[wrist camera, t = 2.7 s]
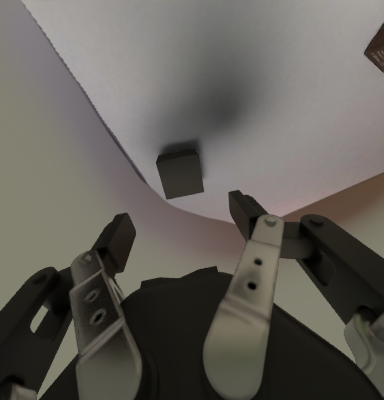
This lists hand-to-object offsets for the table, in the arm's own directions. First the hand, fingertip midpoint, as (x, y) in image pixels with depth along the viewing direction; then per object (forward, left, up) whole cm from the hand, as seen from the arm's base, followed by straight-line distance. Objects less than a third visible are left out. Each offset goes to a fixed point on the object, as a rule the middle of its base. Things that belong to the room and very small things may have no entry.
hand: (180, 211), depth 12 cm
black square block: (0, -1, -13) cm, 13 cm away
